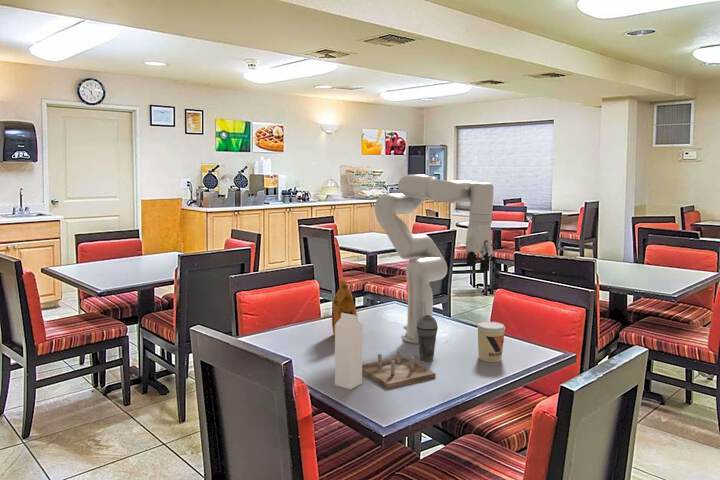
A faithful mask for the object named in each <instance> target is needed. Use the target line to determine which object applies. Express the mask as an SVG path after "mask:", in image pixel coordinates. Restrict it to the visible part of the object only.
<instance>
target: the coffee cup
mask: <svg viewBox="0 0 720 480" xmlns="http://www.w3.org/2000/svg"><path fill="white" fill-rule="evenodd" d="M476 328H477V345H478V346H477V347H478V349H477V350H478V359H479V360H481V361H482V362H486V363H487V362H488V363H499V362H501V361H502V357H503V348H504V339H505V330H506V327H505V325H504V324H503V323H501V322H497V321H481V322H479V323H478V324H477V326H476Z"/></svg>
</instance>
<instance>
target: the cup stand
mask: <svg viewBox="0 0 720 480" xmlns="http://www.w3.org/2000/svg"><path fill="white" fill-rule="evenodd" d="M382 358H383V357H382V353H378V354H377V361H374V362H369V363H364V364H362V375H365V376H366V377H368V378H369V379H371V380H372V381H374V382H376V383H377V382H378V383H377V384H379V385H381V386H382V385H383V387H384V388H386V389H387V390H388V388H389V389H392V387H393V388H397V387H396V386H398V387H401V386H400V385H402V386H405V384H406V385H410V384H409V383H411V384H414V382H415V383H420V382H423V380H424V381H427V380H433V379H435V378H436V375H437V374H436V372H434V371H433V370H430V369H428V368H426V367H424V366H422V365H420V364H418V363H416V362H415V357H414V356H410V359H408V358H405V357H403V356H402V355H401V349H398V350H396V357H394V358H391V359H386V360H382Z"/></svg>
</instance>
